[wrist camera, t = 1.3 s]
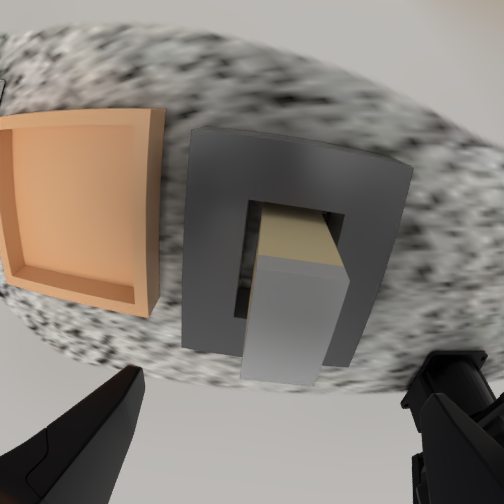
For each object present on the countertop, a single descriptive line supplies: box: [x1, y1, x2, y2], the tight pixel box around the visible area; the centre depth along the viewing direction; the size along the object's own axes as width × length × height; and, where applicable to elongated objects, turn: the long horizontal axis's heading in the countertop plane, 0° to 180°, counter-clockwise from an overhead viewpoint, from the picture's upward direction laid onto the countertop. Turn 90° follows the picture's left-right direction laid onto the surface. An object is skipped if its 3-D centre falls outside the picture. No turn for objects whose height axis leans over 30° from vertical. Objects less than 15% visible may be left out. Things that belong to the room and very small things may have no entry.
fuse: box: [240, 202, 350, 386], centre depth 15 cm, size 3×5×8 cm, turn 173°
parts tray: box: [0, 108, 166, 318], centre depth 17 cm, size 12×12×2 cm
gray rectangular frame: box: [182, 126, 413, 367], centre depth 17 cm, size 10×12×3 cm
